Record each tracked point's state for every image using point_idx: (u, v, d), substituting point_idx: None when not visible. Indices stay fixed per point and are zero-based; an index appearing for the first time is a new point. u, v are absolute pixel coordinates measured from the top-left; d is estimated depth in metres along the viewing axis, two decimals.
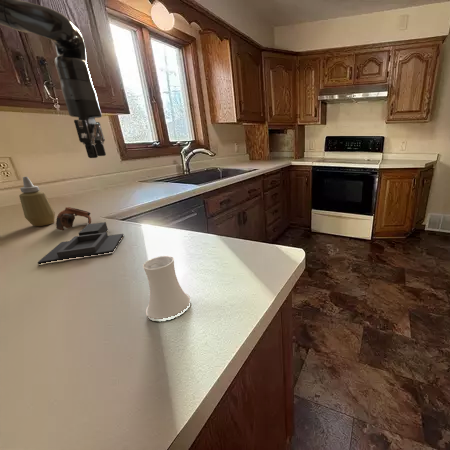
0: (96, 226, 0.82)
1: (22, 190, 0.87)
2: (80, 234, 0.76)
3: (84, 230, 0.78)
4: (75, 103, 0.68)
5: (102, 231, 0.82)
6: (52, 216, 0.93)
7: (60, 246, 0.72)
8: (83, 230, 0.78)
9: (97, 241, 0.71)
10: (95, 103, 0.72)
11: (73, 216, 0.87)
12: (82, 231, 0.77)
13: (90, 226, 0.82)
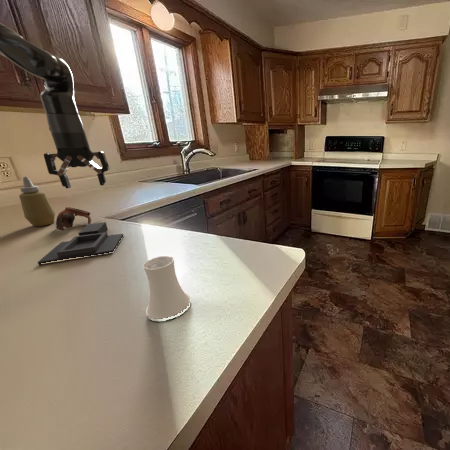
0: (96, 226, 0.82)
1: (22, 190, 0.87)
2: (80, 234, 0.76)
3: (84, 230, 0.78)
4: None
5: (102, 231, 0.82)
6: (52, 216, 0.93)
7: (60, 246, 0.72)
8: (83, 230, 0.78)
9: (97, 241, 0.71)
10: (58, 135, 0.68)
11: (73, 216, 0.87)
12: (82, 231, 0.77)
13: (90, 226, 0.82)
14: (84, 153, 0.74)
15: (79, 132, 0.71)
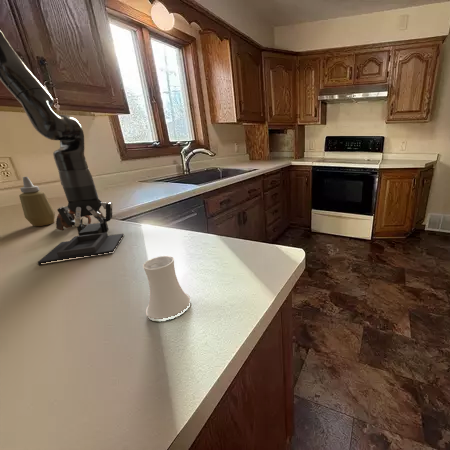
0: (96, 226, 0.82)
1: (22, 190, 0.87)
2: (80, 234, 0.76)
3: (84, 230, 0.78)
4: None
5: None
6: (52, 216, 0.93)
7: (60, 246, 0.72)
8: (83, 230, 0.78)
9: (97, 241, 0.71)
10: (69, 190, 0.73)
11: (73, 216, 0.87)
12: (82, 231, 0.77)
13: (90, 226, 0.82)
14: (93, 203, 0.78)
15: (88, 185, 0.75)
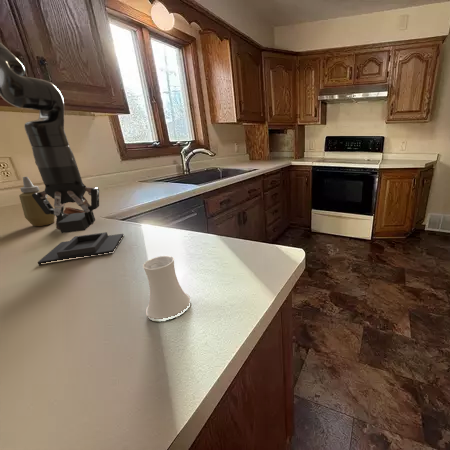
0: (80, 215, 0.69)
1: (22, 190, 0.87)
2: (60, 224, 0.64)
3: (66, 220, 0.66)
4: None
5: None
6: (52, 216, 0.93)
7: (60, 246, 0.72)
8: (64, 220, 0.66)
9: (97, 241, 0.71)
10: (45, 170, 0.61)
11: None
12: (62, 221, 0.65)
13: (73, 215, 0.69)
14: (75, 188, 0.66)
15: (69, 165, 0.63)
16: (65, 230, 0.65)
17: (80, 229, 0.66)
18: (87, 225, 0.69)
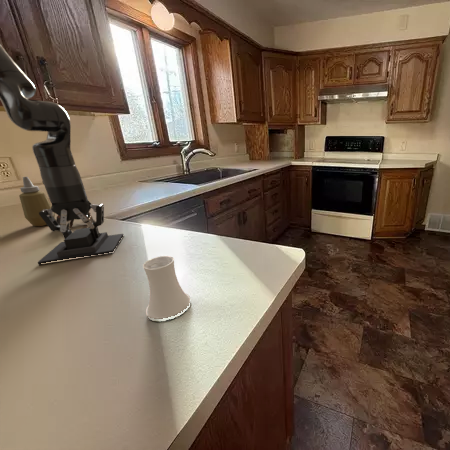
0: (85, 231, 0.71)
1: (22, 190, 0.87)
2: (66, 241, 0.66)
3: (71, 236, 0.67)
4: None
5: None
6: None
7: (60, 246, 0.72)
8: (70, 237, 0.67)
9: (97, 241, 0.71)
10: (52, 190, 0.62)
11: None
12: (68, 238, 0.67)
13: (78, 232, 0.71)
14: (81, 205, 0.67)
15: (75, 184, 0.65)
16: (71, 247, 0.67)
17: (85, 245, 0.68)
18: (92, 241, 0.70)
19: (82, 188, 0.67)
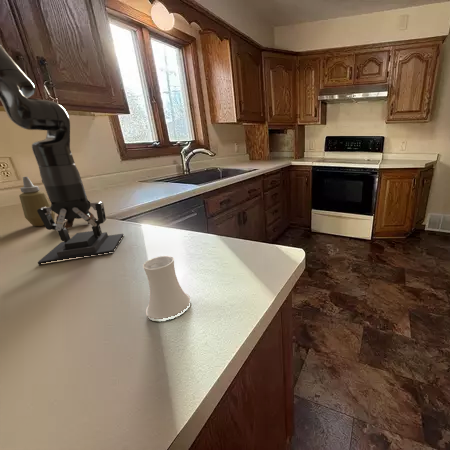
0: (86, 235, 0.71)
1: (22, 190, 0.87)
2: (66, 245, 0.66)
3: (72, 240, 0.68)
4: None
5: (93, 241, 0.71)
6: (52, 216, 0.93)
7: (60, 246, 0.72)
8: (70, 241, 0.67)
9: (97, 241, 0.71)
10: (51, 189, 0.62)
11: None
12: (69, 242, 0.67)
13: (79, 235, 0.71)
14: (80, 204, 0.67)
15: (74, 183, 0.65)
16: None
17: None
18: None
19: (81, 187, 0.67)
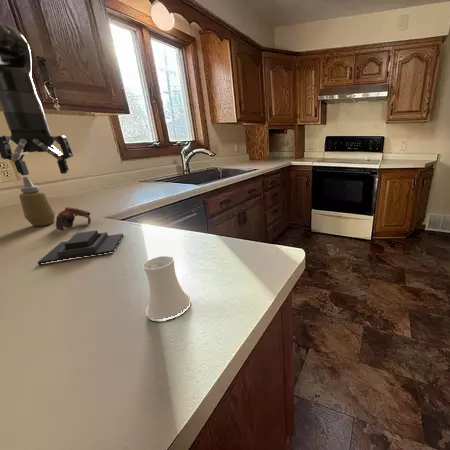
0: (86, 235, 0.71)
1: (22, 190, 0.87)
2: (66, 245, 0.66)
3: (72, 240, 0.68)
4: None
5: (93, 241, 0.71)
6: (52, 216, 0.93)
7: (60, 246, 0.72)
8: (70, 241, 0.67)
9: (97, 241, 0.71)
10: (10, 115, 0.61)
11: (73, 216, 0.87)
12: (69, 242, 0.67)
13: (79, 235, 0.71)
14: (42, 137, 0.66)
15: (35, 113, 0.64)
16: None
17: None
18: None
19: (43, 119, 0.66)
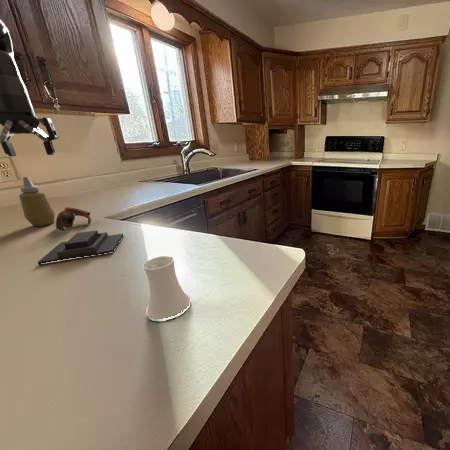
0: (86, 235, 0.71)
1: (22, 190, 0.87)
2: (66, 245, 0.66)
3: (72, 240, 0.68)
4: None
5: (93, 241, 0.71)
6: (52, 216, 0.93)
7: (60, 246, 0.72)
8: (70, 241, 0.67)
9: (97, 241, 0.71)
10: None
11: (73, 216, 0.87)
12: (69, 242, 0.67)
13: (79, 235, 0.71)
14: (27, 118, 0.69)
15: (19, 95, 0.66)
16: None
17: None
18: None
19: (28, 101, 0.69)
